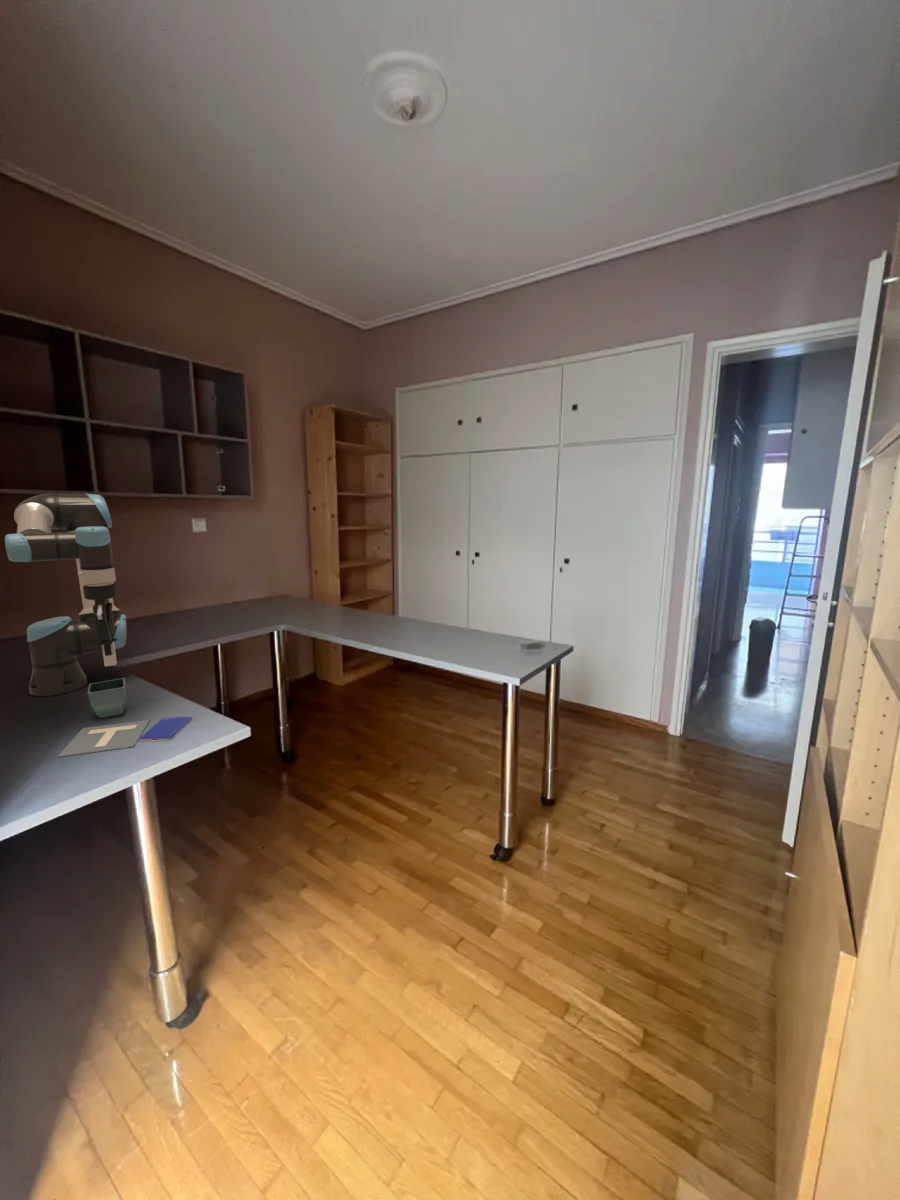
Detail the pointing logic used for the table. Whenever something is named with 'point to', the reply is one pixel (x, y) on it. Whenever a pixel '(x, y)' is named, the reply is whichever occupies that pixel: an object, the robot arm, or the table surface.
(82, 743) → the letter card
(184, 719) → the blue book
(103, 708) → the flower pot
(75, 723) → the table surface
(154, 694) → the table surface
